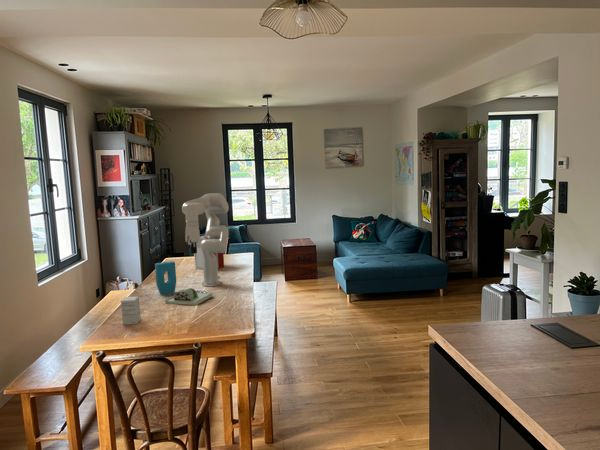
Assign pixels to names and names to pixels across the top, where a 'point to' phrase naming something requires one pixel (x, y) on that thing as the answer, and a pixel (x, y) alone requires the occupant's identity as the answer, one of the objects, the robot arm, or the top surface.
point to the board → (187, 302)
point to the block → (160, 282)
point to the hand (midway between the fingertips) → (194, 253)
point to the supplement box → (130, 310)
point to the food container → (186, 295)
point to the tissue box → (200, 258)
